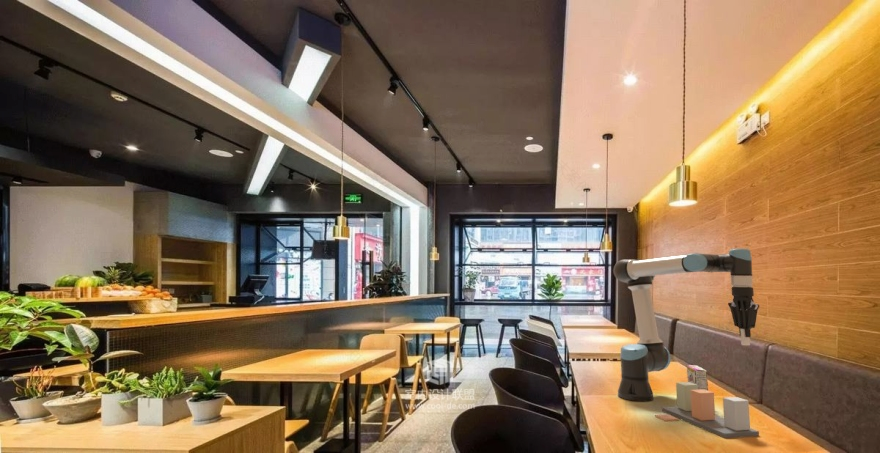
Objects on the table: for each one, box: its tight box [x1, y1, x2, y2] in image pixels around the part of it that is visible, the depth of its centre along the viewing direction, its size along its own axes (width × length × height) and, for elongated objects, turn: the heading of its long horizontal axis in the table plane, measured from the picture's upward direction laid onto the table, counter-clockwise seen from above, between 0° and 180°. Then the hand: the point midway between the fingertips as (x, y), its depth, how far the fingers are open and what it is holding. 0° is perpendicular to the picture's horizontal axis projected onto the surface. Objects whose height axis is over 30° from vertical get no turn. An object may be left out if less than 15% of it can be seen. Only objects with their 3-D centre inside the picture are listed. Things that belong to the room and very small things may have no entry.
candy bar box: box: [686, 364, 709, 391], centre depth 197 cm, size 11×5×16 cm, turn 168°
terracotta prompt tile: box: [654, 413, 680, 422], centre depth 178 cm, size 6×6×1 cm
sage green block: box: [675, 381, 698, 411], centre depth 187 cm, size 5×6×10 cm
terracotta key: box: [691, 389, 716, 421], centre depth 175 cm, size 5×6×10 cm
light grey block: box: [722, 396, 751, 431], centre depth 164 cm, size 5×6×10 cm
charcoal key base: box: [661, 406, 760, 439], centre depth 174 cm, size 32×14×2 cm, turn 12°
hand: (745, 345), depth 184 cm, fingers closed
